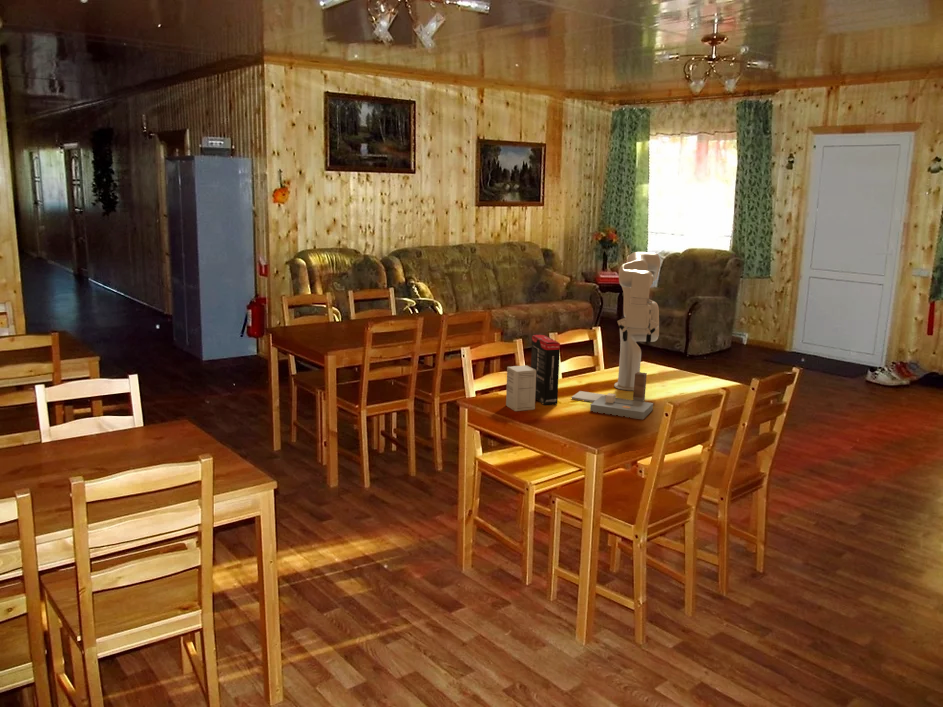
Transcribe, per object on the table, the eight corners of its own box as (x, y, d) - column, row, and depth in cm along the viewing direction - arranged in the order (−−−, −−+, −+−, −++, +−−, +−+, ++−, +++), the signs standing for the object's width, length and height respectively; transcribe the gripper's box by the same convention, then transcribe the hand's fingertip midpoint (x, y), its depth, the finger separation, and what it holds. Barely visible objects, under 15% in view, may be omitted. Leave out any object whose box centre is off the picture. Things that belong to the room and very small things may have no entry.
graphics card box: (558, 405, 338) (562, 341, 332) (543, 406, 336) (546, 342, 330) (542, 394, 354) (545, 334, 348) (528, 395, 352) (531, 334, 346)
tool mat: (579, 393, 359) (580, 391, 358) (606, 396, 353) (606, 394, 353) (571, 399, 348) (571, 397, 348) (597, 403, 343) (598, 401, 343)
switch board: (601, 402, 344) (602, 395, 344) (652, 410, 335) (653, 402, 334) (590, 411, 330) (590, 404, 329) (643, 419, 321) (643, 412, 320)
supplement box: (525, 403, 339) (527, 364, 335) (535, 409, 330) (537, 369, 327) (505, 405, 335) (506, 366, 331) (514, 411, 327) (516, 371, 323)
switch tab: (608, 399, 336) (608, 393, 336) (615, 401, 335) (615, 394, 334) (605, 402, 333) (606, 395, 332) (612, 403, 332) (613, 396, 331)
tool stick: (634, 403, 344) (637, 372, 341) (644, 405, 342) (646, 373, 339) (632, 405, 341) (635, 373, 338) (641, 407, 339) (644, 375, 336)
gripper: (662, 302, 334) (659, 343, 337) (621, 299, 341) (619, 339, 344) (657, 304, 327) (654, 345, 330) (616, 300, 335) (613, 341, 338)
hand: (636, 342), depth 337 cm, fingers open, 9 cm apart
